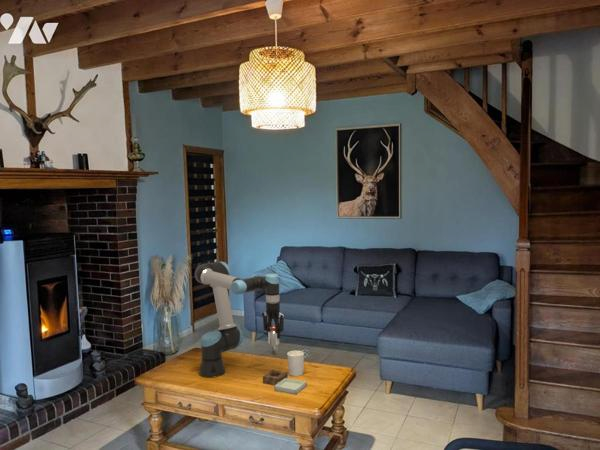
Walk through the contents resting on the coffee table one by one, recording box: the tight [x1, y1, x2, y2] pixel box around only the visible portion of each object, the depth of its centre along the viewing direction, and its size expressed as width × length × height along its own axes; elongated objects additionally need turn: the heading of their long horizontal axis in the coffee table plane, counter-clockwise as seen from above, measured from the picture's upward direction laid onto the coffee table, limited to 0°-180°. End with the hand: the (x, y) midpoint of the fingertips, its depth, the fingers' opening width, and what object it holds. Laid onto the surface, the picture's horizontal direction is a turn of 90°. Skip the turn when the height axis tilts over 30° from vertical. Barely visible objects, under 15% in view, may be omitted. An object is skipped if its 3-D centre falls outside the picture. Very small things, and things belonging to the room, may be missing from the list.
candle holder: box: [286, 350, 305, 377], centre depth 266 cm, size 10×10×12 cm
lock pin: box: [269, 324, 279, 356], centre depth 255 cm, size 5×5×16 cm
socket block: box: [262, 369, 289, 386], centre depth 256 cm, size 10×10×4 cm
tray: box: [273, 377, 307, 396], centre depth 246 cm, size 13×12×3 cm
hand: (273, 343), depth 255 cm, fingers closed on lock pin, 4 cm apart
